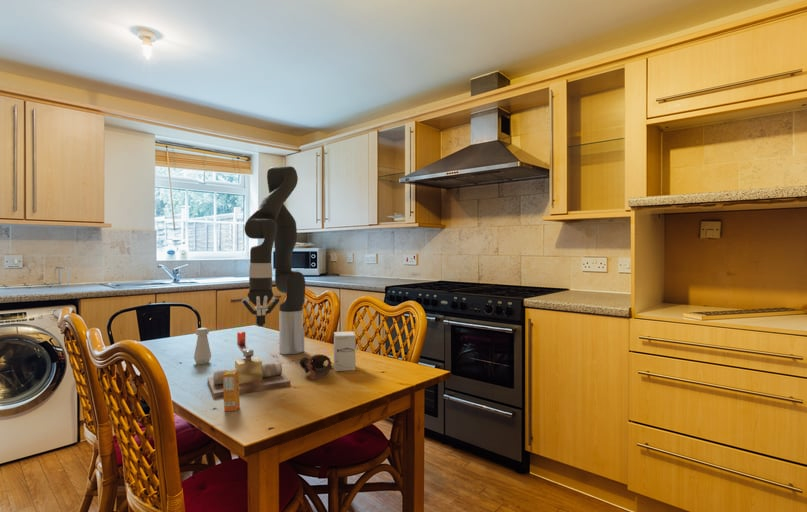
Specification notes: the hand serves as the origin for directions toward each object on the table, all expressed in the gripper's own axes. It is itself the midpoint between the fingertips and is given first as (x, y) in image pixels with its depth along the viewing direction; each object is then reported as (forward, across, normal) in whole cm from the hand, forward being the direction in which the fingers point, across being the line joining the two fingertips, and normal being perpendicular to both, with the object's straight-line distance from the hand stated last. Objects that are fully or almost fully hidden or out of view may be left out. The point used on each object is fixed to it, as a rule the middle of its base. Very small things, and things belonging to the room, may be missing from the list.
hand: (260, 325), depth 147 cm
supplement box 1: (+16, +14, +31) cm, 38 cm away
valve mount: (+16, +6, +12) cm, 21 cm away
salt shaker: (+16, +16, -21) cm, 31 cm away
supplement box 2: (+16, -27, +11) cm, 33 cm away
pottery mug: (+16, -15, +14) cm, 26 cm away
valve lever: (+7, +6, +6) cm, 11 cm away
